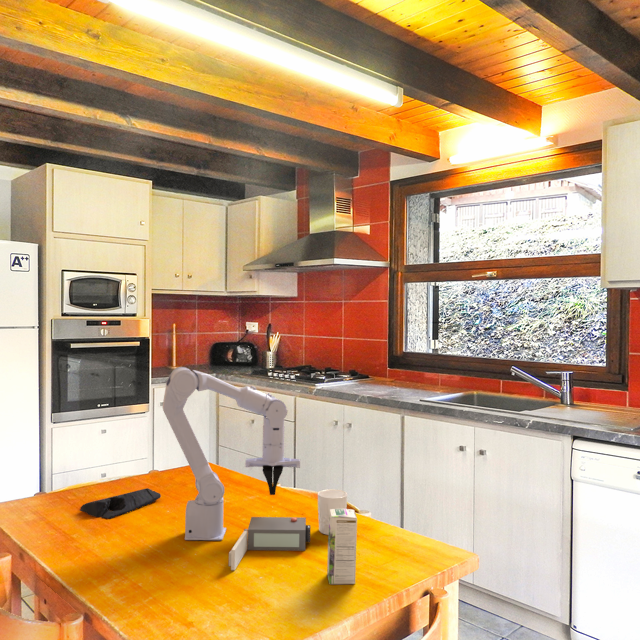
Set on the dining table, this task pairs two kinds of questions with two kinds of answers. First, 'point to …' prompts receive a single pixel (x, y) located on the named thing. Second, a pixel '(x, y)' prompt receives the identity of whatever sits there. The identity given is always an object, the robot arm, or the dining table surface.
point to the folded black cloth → (120, 503)
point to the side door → (238, 550)
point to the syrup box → (342, 546)
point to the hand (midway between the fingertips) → (272, 493)
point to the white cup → (329, 506)
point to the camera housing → (278, 533)
